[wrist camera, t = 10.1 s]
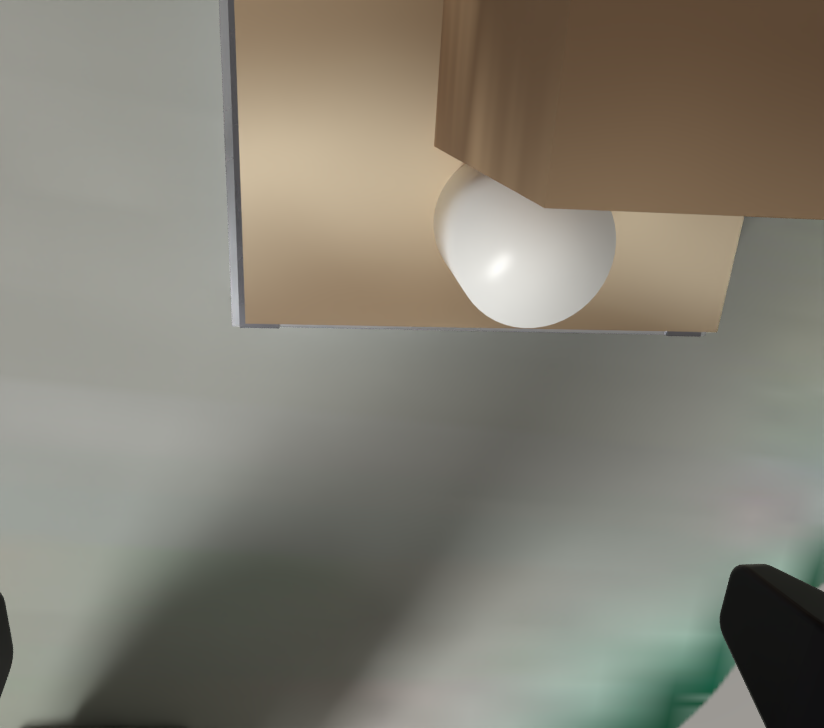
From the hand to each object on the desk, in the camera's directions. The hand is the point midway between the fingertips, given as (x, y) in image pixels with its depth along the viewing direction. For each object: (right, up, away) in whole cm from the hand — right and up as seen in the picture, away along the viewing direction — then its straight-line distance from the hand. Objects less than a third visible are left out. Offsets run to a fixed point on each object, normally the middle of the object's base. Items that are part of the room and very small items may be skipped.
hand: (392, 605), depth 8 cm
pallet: (+2, +10, +7) cm, 13 cm away
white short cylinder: (+2, +6, +8) cm, 10 cm away
